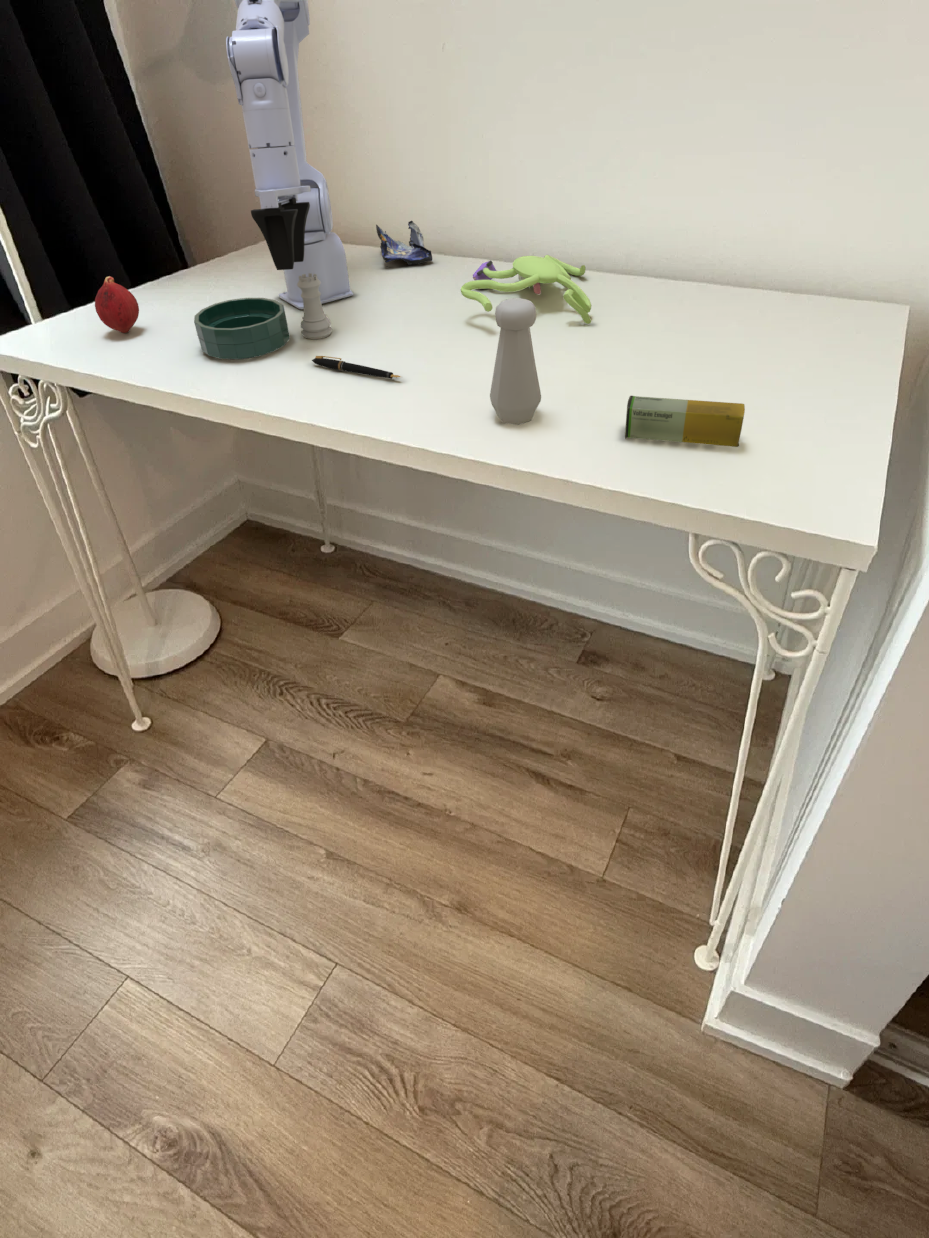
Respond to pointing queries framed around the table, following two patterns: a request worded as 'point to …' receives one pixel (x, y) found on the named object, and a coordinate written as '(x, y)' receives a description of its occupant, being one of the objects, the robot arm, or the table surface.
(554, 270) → the figurine
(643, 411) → the medication box
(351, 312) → the table surface
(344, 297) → the robot arm
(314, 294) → the rook chess piece
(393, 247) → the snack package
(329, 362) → the fountain pen
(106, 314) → the onion
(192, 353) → the table surface
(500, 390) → the salt shaker
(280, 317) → the green faceted bowl
